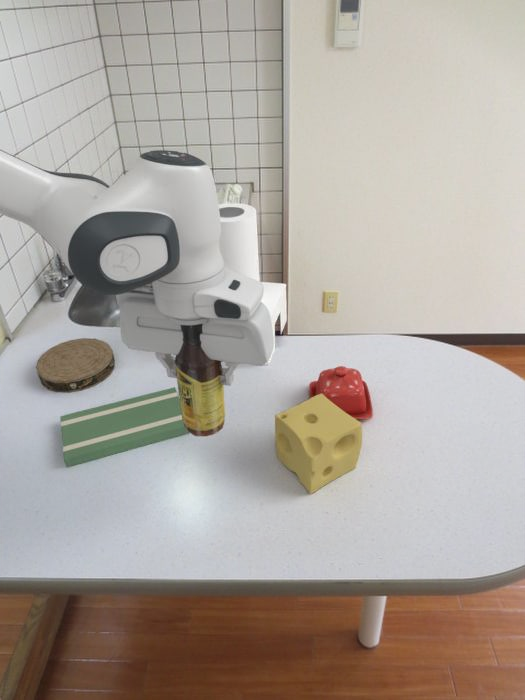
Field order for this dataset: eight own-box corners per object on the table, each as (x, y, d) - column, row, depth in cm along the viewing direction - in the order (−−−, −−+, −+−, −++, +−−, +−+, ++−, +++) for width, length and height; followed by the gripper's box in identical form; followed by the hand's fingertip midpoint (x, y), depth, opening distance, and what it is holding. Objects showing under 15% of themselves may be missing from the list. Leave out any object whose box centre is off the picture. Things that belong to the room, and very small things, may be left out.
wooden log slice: (127, 353, 119) (125, 342, 117) (92, 397, 106) (88, 385, 104) (65, 345, 122) (62, 335, 121) (24, 387, 110) (19, 376, 108)
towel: (66, 467, 90) (63, 458, 89) (63, 424, 100) (60, 415, 99) (190, 432, 96) (189, 424, 95) (176, 394, 106) (174, 386, 104)
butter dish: (311, 424, 97) (311, 388, 92) (308, 385, 106) (308, 351, 101) (374, 423, 96) (377, 387, 91) (365, 384, 106) (368, 350, 101)
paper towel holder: (286, 320, 128) (284, 198, 111) (268, 365, 113) (262, 232, 96) (213, 313, 132) (201, 195, 115) (186, 355, 117) (167, 226, 100)
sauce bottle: (180, 415, 78) (163, 298, 67) (221, 407, 80) (211, 290, 69) (187, 445, 73) (171, 323, 62) (231, 435, 75) (222, 314, 64)
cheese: (310, 496, 83) (311, 451, 77) (272, 456, 90) (270, 412, 85) (360, 468, 87) (364, 423, 82) (320, 431, 95) (321, 388, 89)
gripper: (101, 292, 64) (121, 382, 72) (262, 309, 59) (266, 404, 67) (125, 270, 69) (142, 356, 77) (275, 284, 64) (277, 375, 72)
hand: (201, 379), depth 72 cm, fingers closed on sauce bottle, 6 cm apart
